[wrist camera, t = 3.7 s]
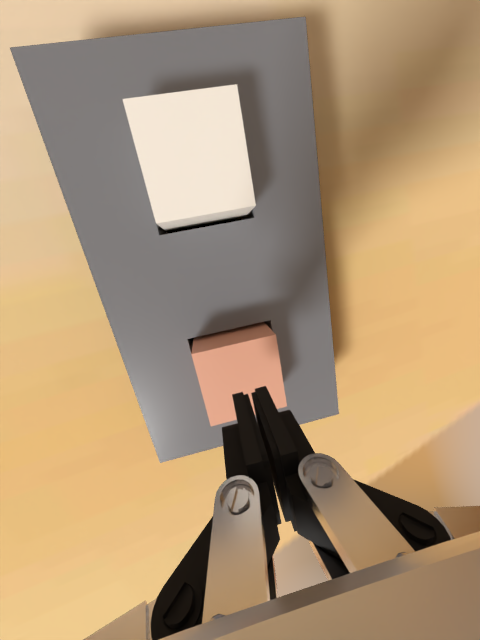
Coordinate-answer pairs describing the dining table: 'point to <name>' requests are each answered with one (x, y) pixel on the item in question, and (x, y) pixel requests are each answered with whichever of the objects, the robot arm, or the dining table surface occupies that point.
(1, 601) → the dining table surface
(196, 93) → the ivory key
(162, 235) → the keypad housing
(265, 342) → the terracotta key
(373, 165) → the dining table surface
